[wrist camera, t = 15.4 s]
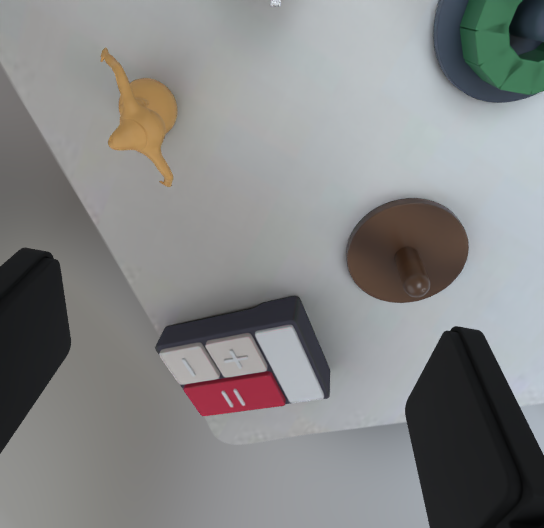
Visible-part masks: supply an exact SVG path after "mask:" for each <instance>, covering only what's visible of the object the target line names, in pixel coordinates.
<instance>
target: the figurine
mask: <svg viewBox="0 0 544 528" xmlns="http://www.w3.org/2000/svg"><path fill="white" fill-rule="evenodd" d="M104 59H105V61H106V63H107V64H108V65H109V66H110V67H111V68H112V70H113V72H114V73H115V76H116V81H117V84H118V88H119V91H120V94H121V95H120V99H119V112H120V115H121V116H120V125H119V126H118V128H117V129H116V130H115V131H114V132H113V133H112V135H111V136H110V138H109V140H108V145H109V146H110V148H112V149H114V150H136V151H138V152H140V153H142V154H144V155H146V156H147V157H148V158H149V159H150V160H151V161H152V162H153V163H154V164H155V166H156V167H157V169H158V170H159V171H160V173H161V174H162V175H163V176H164V178H165V179H164V182H162V181H159V182H161V183H162V184H163V185H165V186H167V187H171V186H172V180H173V174H172V172H171V170H170V168H169V166H168V164H167V163H166V161H165V159H164V158H163V156H162V154H161V145H162V143H163V139H164V138H165V134H166V133H168V132H169V131H170V130H171V129H172V127H173V126H174V124H175V122H176V118H177V104H176V101H175V98H174V96H173V94H172V93H171V91H170V90H169V89H168V88H167V87H166V86H165V85H164V84H162V83H160V82H159V81H156V80H154V79H149V78H141V79H137V80H134V81H132V82H131V83H129V81H128V78H127V76H126V74H125V72H124V70H123V68H122V66H121V65H120V63H118V62H117V60H116V59H115V58H114V57H113V56H112V55H110V54H109V52H108V49H107V48H104V49H103V50H102V53H101V62H102V61H103V60H104Z"/></svg>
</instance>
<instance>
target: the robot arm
mask: <svg viewBox="0 0 544 528" xmlns="http://www.w3.org/2000/svg"><path fill="white" fill-rule="evenodd" d="M70 346H71V337H70V330H69V323H68V316H67V310H66V303H65V296H64V290H63V283H62V276H61V269H60V264H59V262H58V260H56V259H54V258H53V256H52V254H51V253H50V252H46V251H41V250H35V249H30V248H22V249H21V250H19V251H18V252H16V253H15V254H14V255H13V256H12V257H11V258H10V259H8V260H7V261H6V262H5V263H4V264H3V265H2V266H0V453H1V452H2V450H3V449H4V448H5V446H6V445H7V443H8V442H9V440H10V439H11V437H12V436H13V434H14V433H15V431H16V430H17V428H18V427H19V425H20V424H21V423H22V421H23V420H24V418H25V417H26V415H27V414H28V412H29V410H30V409H31V408H32V406H33V405H34V403H35V402H36V400H37V399H38V397H39V396H40V394H41V393H42V392H43V390H44V389H45V387H46V386H47V384H48V383H49V381H50V380H51V378H52V377H53V375H54V374H55V372H56V371H57V369H58V368H59V366H60V365H61V363H62V362H63V361H64V359H65V358H66V356H67V354H68V352H69V350H70ZM405 415H406V420H407V425H408V429H409V434H410V438H411V443H412V447H413V452H414V457H415V461H416V466H417V470H418V475H419V479H420V484H421V489H422V493H423V498H424V502H425V507H426V512H427V516H428V521H429V526H430V528H544V455H543V453H542V451H541V449H540V447H539V445H538V443H537V441H536V439H535V437H534V435H533V433H532V431H531V429H530V427H529V425H528V423H527V421H526V419H525V417H524V415H523V413H522V411H521V409H520V407H519V405H518V403H517V401H516V399H515V397H514V395H513V393H512V391H511V389H510V387H509V385H508V383H507V380H506V378H505V376H504V374H503V372H502V370H501V368H500V366H499V364H498V362H497V360H496V358H495V356H494V354H493V352H492V350H491V348H490V346H489V344H488V342H487V340H486V338H485V336H484V335H483V333H482V332H481V331H479V330H474V329H469V328H463V327H458V326H456V327H453V328H452V329H451V330H450V331H445V332H444V333H443V334H442V336H441V338H440V340H439V342H438V344H437V345H436V347H435V349H434V351H433V353H432V355H431V357H430V358H429V360H428V362H427V364H426V366H425V368H424V370H423V372H422V373H421V375H420V377H419V379H418V381H417V383H416V385H415V387H414V388H413V390H412V392H411V394H410V396H409V398H408V400H407V402H406V407H405Z"/></svg>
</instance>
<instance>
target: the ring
mask: <svg viewBox="0 0 544 528" xmlns="http://www.w3.org/2000/svg"><path fill="white" fill-rule="evenodd" d="M522 1H523V0H469V1H468V4H467V7H466V10H465V12H464V15H463V18H462V21H461V24H460V26H461V28H460V35H461V43H462V51H463V58H464V59H465V62H466V63H467V64H468V65H469V66H470V67H471V69H472V70H473V71H474V72H475V73H476V74H477V75H478V76H479V77H480V79H481V80H483V81H485V82H487V83H488V84H490V85H492V86H494V87H496V88H498V89H500V90H505V91H510V92H515V93H521V94H526V95H530V94H531V95H533V94H536V93H539V92H542V91H544V42H543V43H541V44H540V45H539V46H538V47H537V48H536V49H534V50H532V51H529V52H526V53H523V54H520V55H517V53H516V52H515V51H514V50H513V49H512V47H511V46H510V37H509V26H510V23H511V21H512V18H513V16H514V14H515V11H516V9H517V6H518V5H519V4H520V3H521V2H522Z"/></svg>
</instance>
